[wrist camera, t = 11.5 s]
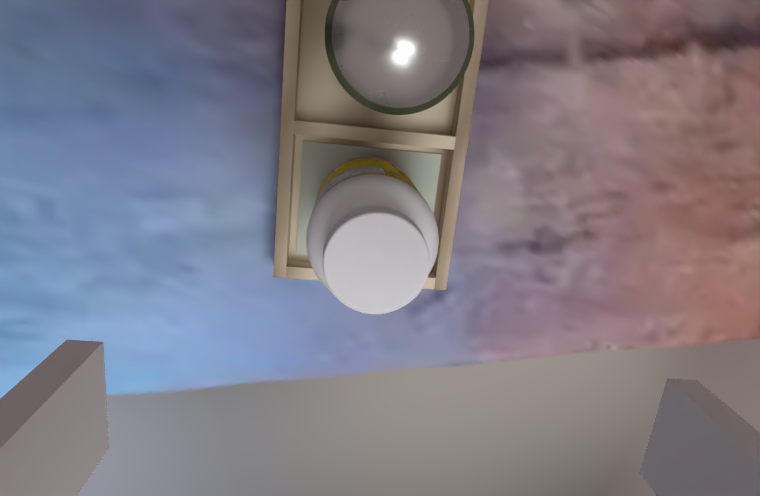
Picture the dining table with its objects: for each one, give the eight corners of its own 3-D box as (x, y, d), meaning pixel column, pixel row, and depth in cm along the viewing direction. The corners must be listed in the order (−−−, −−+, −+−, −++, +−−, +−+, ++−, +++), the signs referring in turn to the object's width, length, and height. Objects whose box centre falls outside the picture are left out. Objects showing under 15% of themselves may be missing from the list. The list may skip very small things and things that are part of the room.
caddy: (278, 264, 37) (273, 277, 34) (303, -235, 29) (299, -264, 26) (439, 277, 38) (445, 290, 35) (508, -202, 30) (522, -227, 27)
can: (329, 101, 33) (318, 107, 21) (337, -3, 31) (329, -60, 19) (423, 111, 33) (464, 122, 21) (435, 9, 32) (488, -39, 20)
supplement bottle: (424, 241, 36) (463, 320, 23) (329, 261, 36) (319, 350, 23) (406, 144, 34) (439, 174, 21) (306, 165, 34) (281, 208, 21)
